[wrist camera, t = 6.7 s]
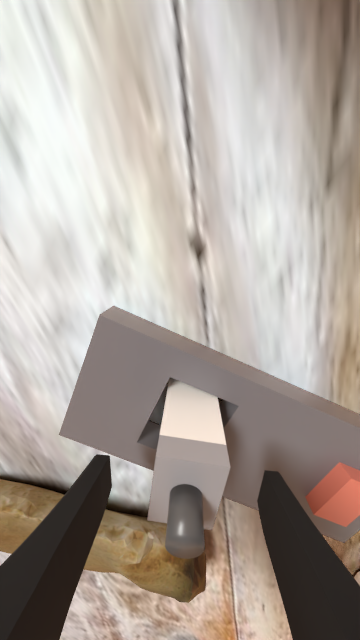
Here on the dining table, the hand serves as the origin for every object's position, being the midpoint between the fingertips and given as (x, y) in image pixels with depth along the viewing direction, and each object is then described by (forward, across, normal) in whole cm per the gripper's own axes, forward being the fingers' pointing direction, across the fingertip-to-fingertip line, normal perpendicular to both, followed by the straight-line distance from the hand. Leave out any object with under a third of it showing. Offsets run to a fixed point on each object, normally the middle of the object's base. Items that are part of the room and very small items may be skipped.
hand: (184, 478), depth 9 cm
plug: (+5, 0, 0) cm, 5 cm away
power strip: (+5, -4, +2) cm, 6 cm away
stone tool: (+6, +10, +14) cm, 18 cm away
